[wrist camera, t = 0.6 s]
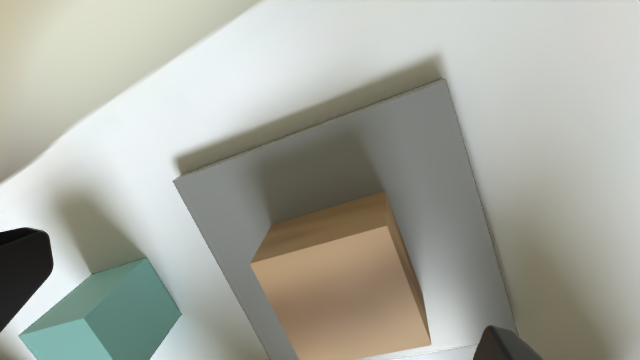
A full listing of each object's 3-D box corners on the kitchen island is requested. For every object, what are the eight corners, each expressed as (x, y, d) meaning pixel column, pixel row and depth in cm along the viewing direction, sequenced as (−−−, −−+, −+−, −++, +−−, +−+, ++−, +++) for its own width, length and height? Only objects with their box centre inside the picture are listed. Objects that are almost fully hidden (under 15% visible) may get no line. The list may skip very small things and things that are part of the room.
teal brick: (181, 313, 27) (131, 385, 21) (128, 327, 28) (67, 397, 23) (147, 257, 26) (83, 318, 20) (92, 274, 27) (18, 335, 21)
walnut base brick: (422, 293, 22) (431, 345, 18) (315, 317, 24) (304, 368, 20) (385, 190, 20) (387, 225, 16) (271, 225, 22) (249, 263, 18)
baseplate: (513, 324, 23) (518, 336, 22) (284, 368, 27) (281, 379, 26) (442, 78, 19) (445, 80, 18) (180, 175, 23) (172, 181, 22)
